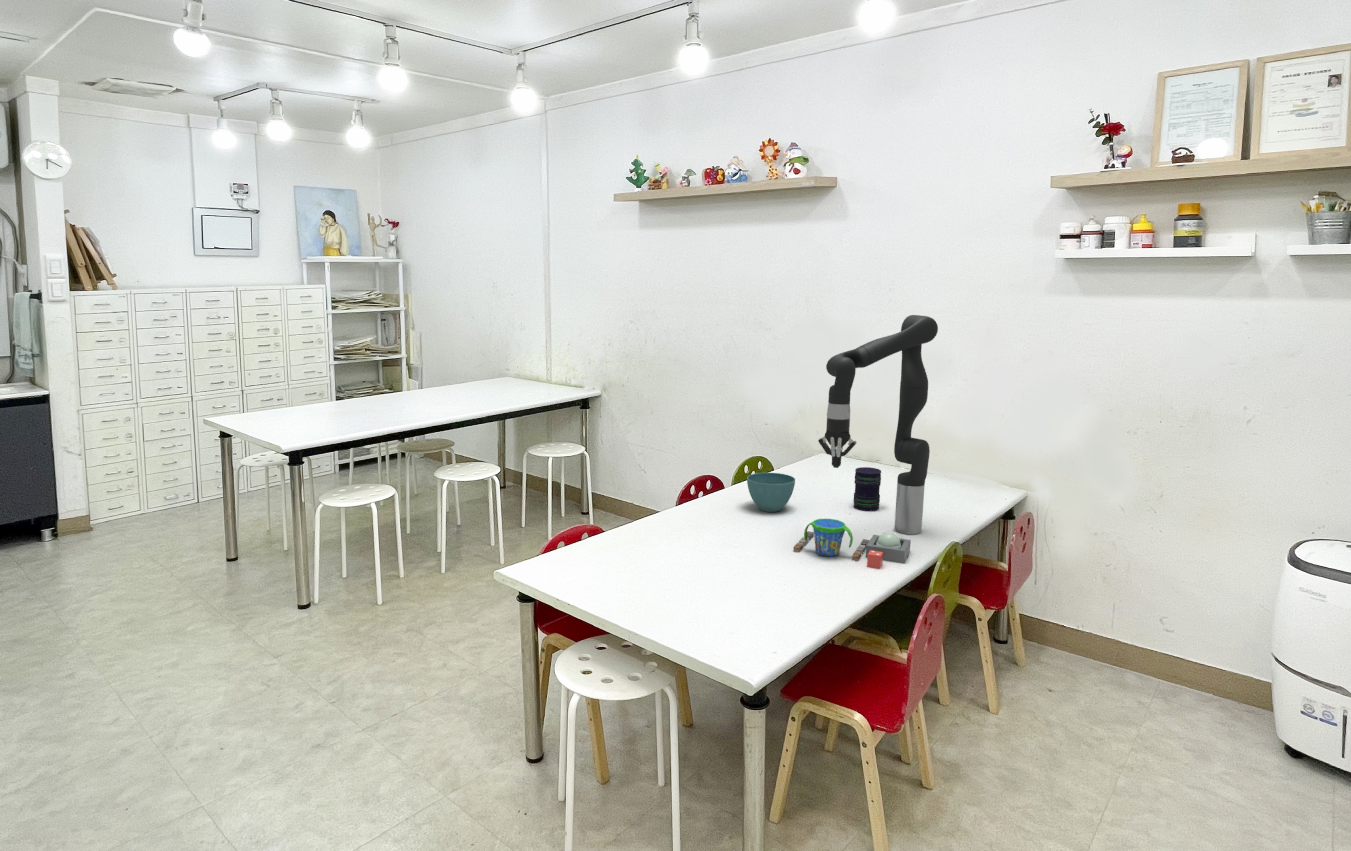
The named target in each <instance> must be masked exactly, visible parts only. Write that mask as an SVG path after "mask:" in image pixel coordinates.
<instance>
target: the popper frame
mask: <svg viewBox="0 0 1351 851" xmlns="http://www.w3.org/2000/svg"><path fill="white" fill-rule="evenodd" d="M880 535H881V534H880ZM880 535H879V534H873V535H872V537H871V538H870V539H869V542H868V544H867V545H866V549H865V558H866V559H867V556H868V553H869V551H870V550H872V551H879V552H883V561H887V562H893V563H894V562H895V563H901V564H905V562H906V560H907V559H908V556H909V554H910V552H911V542H912V540H911V539H907V538H902V537H901V538H900V537H898V538H899V540H900V543H901V548H900V549H899V548H892V547H885V546H878V545H876V544H877V541H878V538H879V536H880Z"/></svg>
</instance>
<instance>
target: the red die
mask: <svg viewBox="0 0 1351 851" xmlns="http://www.w3.org/2000/svg"><path fill="white" fill-rule="evenodd" d="M866 560H867V562H866V567H868V568H875V569H881V567H882V565H883V561H884V560H883V552H879V551H872V550H870V551H869V553H868V556H867V558H866Z"/></svg>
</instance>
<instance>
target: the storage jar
mask: <svg viewBox="0 0 1351 851" xmlns="http://www.w3.org/2000/svg"><path fill="white" fill-rule="evenodd" d="M881 484H882V470H881V469H879V468H876V467H868V466H865V467H863V466H862V467H856V468H855V473H854V492H853V508H854V509H855V510H856V511H857V510H858V511H861V512H876V511H879V510H880V507H879V506H880V502H881V501H880V500H881V495H880V487H881Z"/></svg>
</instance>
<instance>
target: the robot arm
mask: <svg viewBox="0 0 1351 851" xmlns="http://www.w3.org/2000/svg"><path fill="white" fill-rule="evenodd" d="M938 326H939V325H938V323H937V322H936V320H935V319H934V318H933V317H930V316H928V315H918V314H910V315H908V316H906V317H905V318H904V320H903V322H902V323H901V328H900V331H899V332H896V333H893V334H891V335H887V336H883V337H879V338H876V339H873V340H871V341H868V342H866V343H864V344H862V345H859V346H857V347H856V348H853V349H849V350H847V351H843V352H840V353H838V354H835V355H834V356H833V355H832V357H830V358H829V359H828V361H827V362H826V367H825V369H826V371H827V373H828V374H829V375H830V376H832V377H834V378H835V380H834V384H833V385H831V386H830V387H829V390H828V403H827V410H826V411H827V412H826V428H825V429H826V430H825V434H824V436H823V437H820V438H819V439H818V440H817V442H818V443H819V445H820V446H821V447H822V449H823V451H824V452H825V454H826V455H830V456H831V466H832V467H833V468H836V469H838V468H839V467H841V465H842V457H845V456H847V454H848V453H850V451H851V450H852V449H853V448H854V447H855V445H856V444H857V441H856V440H853V438H851V437H852V436H851V434H850V424H851V391H852V388H853V383H854V381H855V377H856V372H857V371H856V370H857V369H864V368H866V367H868V366H871V365H873V364H875V363H877V362H879V361H881V360H883V359H885V358H887V357H890V356H892V355H895V354H896V353H900V352H901V364H900V365H901V367H900V368H901V369H900V370H901V372H900V383H899V384H900V386H899V404H898V407H899V408H898V417H897V418H898V419H897V426H896V427H897V428H896V433H895V441H894V448H893V450H894V452H893V453H894V457H895V460H896V461H897V462H899V463H904V464H907V465H910V470H909V471H905V472H900V473H899V474H898V475H897V478H896V480H897V481H896V482H897V483H896V496H895V497H896V500H895V512H894V513H895V514H894V531H896V532H897V533H900V534H905V535H918V534H921V533H922V530H923V528H922V526H923V515H924V499H925V484H926V478H927V475H928V468H929V460H930V454H931V452H930V451H931V450H930V445H929V442H928V441H927V440H926V439H921V438H915V437H912V429H913V426H914V423H915V420H916V419H917V418H918V416H919V415H920V413H921V412H922V410H923V409H924V407H925V406H926V405H927V402H928V398H929V397H928V396H929V395H928V394H929V379H928V375H927V372H926V368H925V365H924V362H923V358H922V346H923V345H924V344H927V343H929V342H931V341H933V340H934V339H935V338H936V336H937V334H938V332H939V327H938ZM828 444H829V445H830V446H829V445H828ZM846 444H847V445H848V446H847V447H846V448H845V450H844V446H845V445H846ZM843 450H844V451H843Z"/></svg>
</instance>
